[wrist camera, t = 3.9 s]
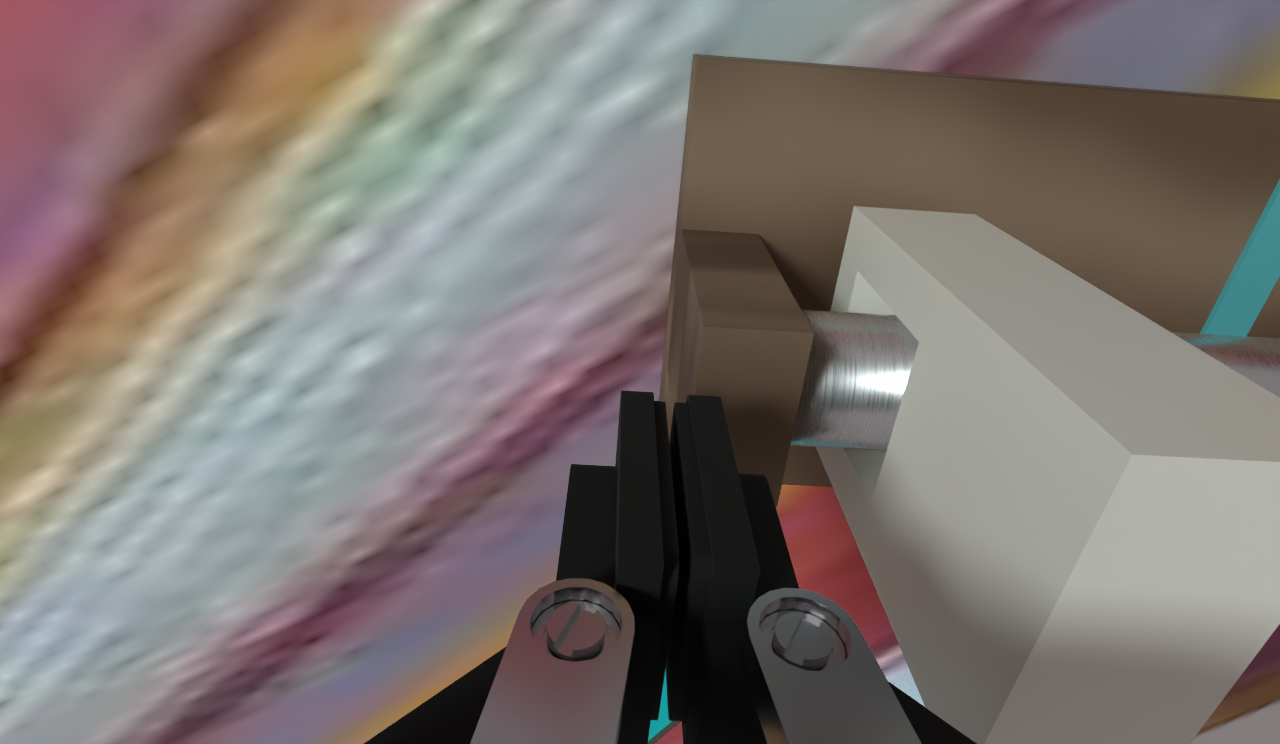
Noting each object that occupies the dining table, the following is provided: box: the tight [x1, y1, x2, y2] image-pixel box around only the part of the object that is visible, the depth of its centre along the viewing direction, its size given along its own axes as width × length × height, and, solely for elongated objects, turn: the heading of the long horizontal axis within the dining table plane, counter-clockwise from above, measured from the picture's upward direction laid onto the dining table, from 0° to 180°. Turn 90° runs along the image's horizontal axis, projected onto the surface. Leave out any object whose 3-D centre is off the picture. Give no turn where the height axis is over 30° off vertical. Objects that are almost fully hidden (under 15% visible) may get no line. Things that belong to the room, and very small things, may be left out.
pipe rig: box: [659, 54, 1280, 506], centre depth 17 cm, size 12×22×8 cm, turn 86°
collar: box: [816, 206, 1280, 744], centre depth 13 cm, size 6×3×10 cm, turn 176°
